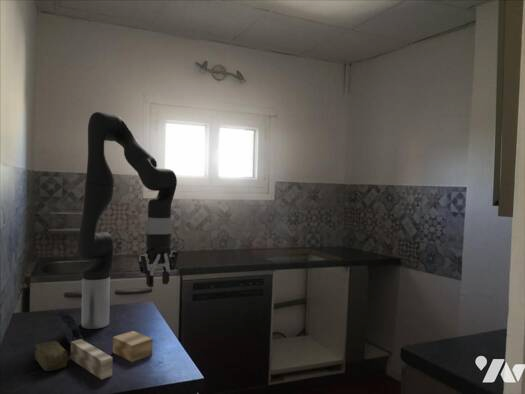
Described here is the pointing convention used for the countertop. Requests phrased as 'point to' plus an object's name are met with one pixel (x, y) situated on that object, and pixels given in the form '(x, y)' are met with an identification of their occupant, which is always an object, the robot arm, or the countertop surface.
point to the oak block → (132, 346)
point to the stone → (68, 326)
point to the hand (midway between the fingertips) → (157, 285)
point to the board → (91, 359)
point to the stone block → (51, 355)
